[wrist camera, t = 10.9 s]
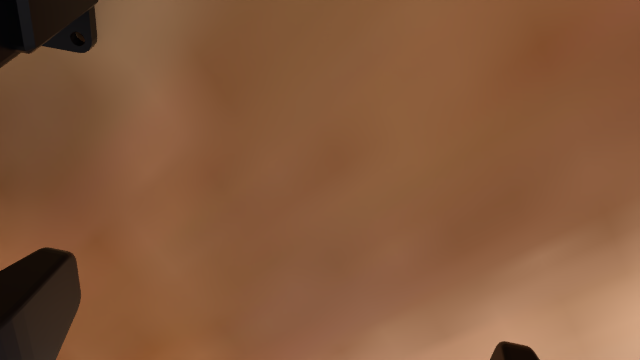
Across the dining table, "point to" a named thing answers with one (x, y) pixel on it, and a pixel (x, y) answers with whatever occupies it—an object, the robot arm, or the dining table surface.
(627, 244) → the dining table surface
